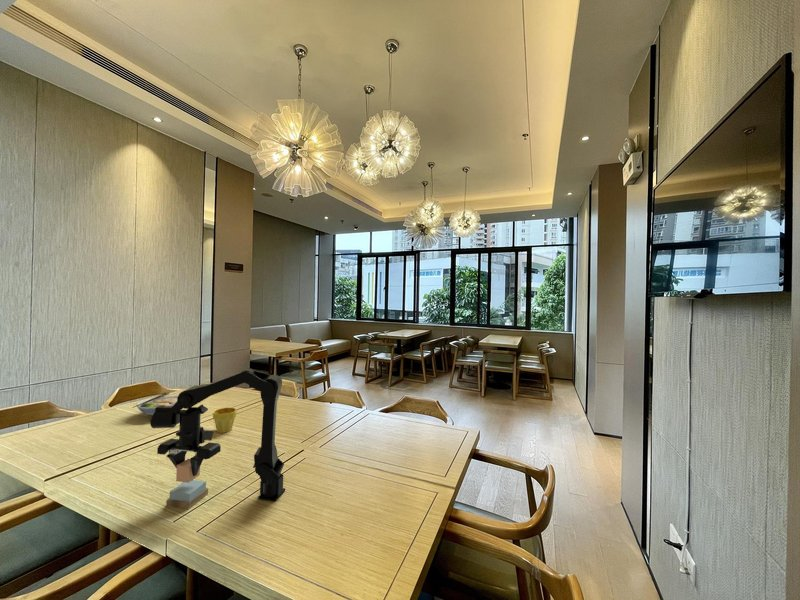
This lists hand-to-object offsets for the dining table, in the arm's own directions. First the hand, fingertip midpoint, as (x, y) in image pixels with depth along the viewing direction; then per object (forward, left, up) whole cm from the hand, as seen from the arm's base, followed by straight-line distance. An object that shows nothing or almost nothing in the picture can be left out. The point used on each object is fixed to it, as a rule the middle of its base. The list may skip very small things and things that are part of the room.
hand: (188, 474), depth 104 cm
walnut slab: (0, 0, -9) cm, 9 cm away
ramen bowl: (+75, -64, -8) cm, 99 cm away
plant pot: (+27, -52, -8) cm, 59 cm away
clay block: (0, 0, -1) cm, 1 cm away
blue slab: (0, 0, -6) cm, 6 cm away
